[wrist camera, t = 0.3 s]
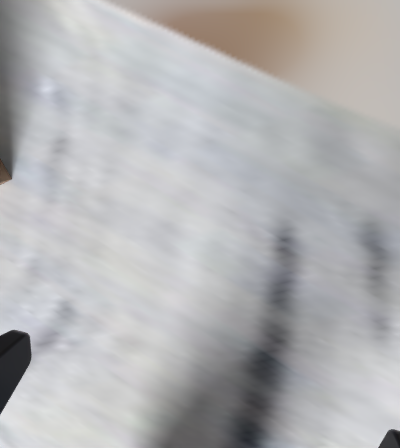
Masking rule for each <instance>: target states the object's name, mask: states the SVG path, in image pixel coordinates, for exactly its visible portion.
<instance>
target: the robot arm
mask: <svg viewBox="0 0 400 448" xmlns="http://www.w3.org/2000/svg"><path fill="white" fill-rule="evenodd" d="M30 361H31V344H30V336H29V334H28V333H25V332H22V331H18V330H11V331H9V332H7V333H5V334H3V335H1V336H0V414H1V413H2V411H3V409H4V407H5V406H6V404H7V402H8V400H9V399H10V397H11V395H12V394H13V392H14V390H15V388H16V387H17V385H18V383H19V382H20V380H21V378H22V376H23V375H24V373H25V371H26V369H27V368H28V366H29V364H30ZM378 448H400V431H398V430H394V429H391V430H389V431H388V432H387V434H386V436H385V437H384V439H383V441H382V442H381V444H380V446H379V447H378Z"/></svg>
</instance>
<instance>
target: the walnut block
mask: <svg viewBox="0 0 400 448" xmlns="http://www.w3.org/2000/svg"><path fill="white" fill-rule="evenodd" d="M11 179H12V178H11V177H10V175H9V173H8V171H7V170H6V168H5V166H4V164H3V163H2V161H1V159H0V185H1V184H3V183H5V182H7V181H9V180H11Z"/></svg>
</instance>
